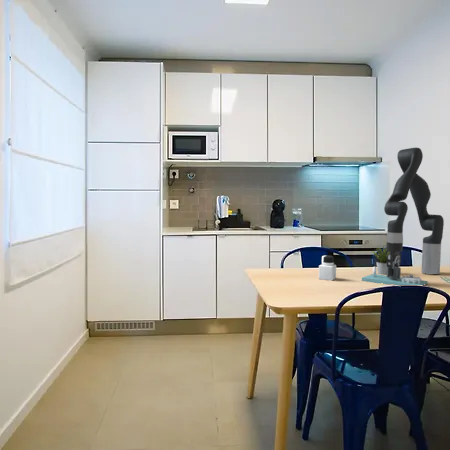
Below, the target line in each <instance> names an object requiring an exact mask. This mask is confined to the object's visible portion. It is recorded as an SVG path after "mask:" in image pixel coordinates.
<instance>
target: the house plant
mask: <svg viewBox="0 0 450 450" xmlns="http://www.w3.org/2000/svg"><path fill="white" fill-rule="evenodd" d="M382 247H383V248H381V247H379V246H376V249H375V248H374V250H375V251H376V252H375V251H372V250H371V252H372V254H374V255H373V256H374V257H376V258H377V259H378V261H376V272H377V274H378V275H387V255H389V254H390V251H387V250H386V248H385V245H382ZM382 249H383V250H382Z"/></svg>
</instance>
